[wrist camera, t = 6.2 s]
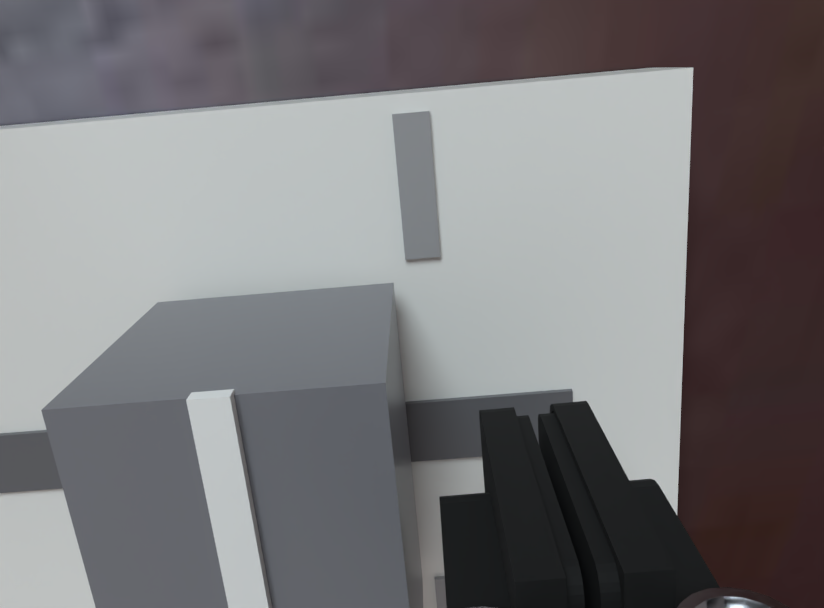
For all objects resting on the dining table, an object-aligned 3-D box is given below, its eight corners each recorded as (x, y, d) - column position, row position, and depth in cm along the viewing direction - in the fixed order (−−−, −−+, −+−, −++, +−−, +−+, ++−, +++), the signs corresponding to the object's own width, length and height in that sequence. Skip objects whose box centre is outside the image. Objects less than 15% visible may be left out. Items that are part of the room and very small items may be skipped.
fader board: (652, 68, 13) (696, 67, 11) (641, 598, 17) (673, 670, 15) (-548, 175, 14) (-711, 193, 12) (-300, 665, 18) (-392, 742, 16)
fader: (393, 279, 12) (385, 384, 8) (422, 580, 14) (427, 784, 10) (157, 299, 12) (33, 412, 8) (218, 595, 14) (142, 802, 10)
